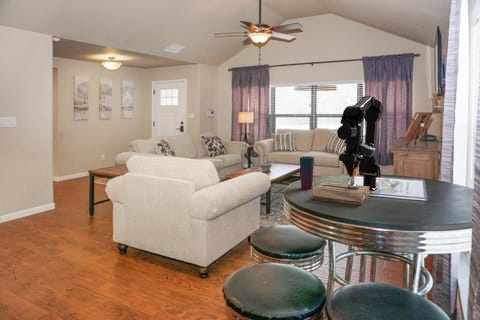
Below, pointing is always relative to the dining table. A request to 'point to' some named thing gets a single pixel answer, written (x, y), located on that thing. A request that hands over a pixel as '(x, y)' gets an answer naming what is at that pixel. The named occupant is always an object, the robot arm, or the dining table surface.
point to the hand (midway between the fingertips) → (352, 175)
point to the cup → (306, 172)
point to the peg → (355, 172)
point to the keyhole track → (341, 193)
